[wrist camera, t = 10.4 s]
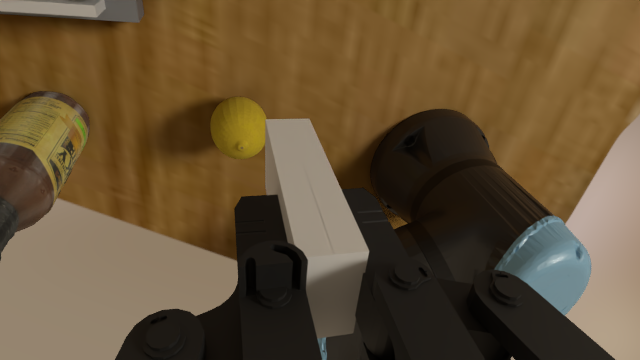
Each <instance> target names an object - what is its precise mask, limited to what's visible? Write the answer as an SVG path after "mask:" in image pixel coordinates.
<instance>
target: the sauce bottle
mask: <svg viewBox="0 0 640 360" xmlns="http://www.w3.org/2000/svg"><path fill="white" fill-rule="evenodd" d="M88 135H89V117H88V115H87V113H86V112H85V110H84V109H83V108H82V107H81V106H80V105H79V104H78V103H77V102H75V101H74V100H73V99H72V98H70V97H69V96H67V95H64V94H61V93H56V92H46V91H44V92H43V91H39V92H34V93H32V94H30V95H29V96H27V97H26V98H24V99H23V100H22V101H20V102H18V103H17V104H16V105H15V106H14V107H12V108H11V109H10V110H9V111H8V112H7V113H6V114H5V115H4V116H3V117H2V118H1V119H0V260H1V252H2V251H3V249H4V247H5V246H6V245H7V243H8V241H9V240H10V239H11V238H12V237H13V236H14V233H15V232H17V231H20V230H23V229H25V228H28V227H30V226H32V225H34V224H35V223H36V222H38V221H39V220H40V219H41V218H42V217H43V216H44V215H46V214H47V213H48V212H49V211H50V210H51V208H52V206H53V204H54V202H55V200H56V199H57V197H58V195H59V193H60V191H61V189H62V187H63V186H64V184H65V182H66V180H67V178H68V176H69V175H70V173H71V170H72V168H73V166H74V165H75V163H76V161H77V159H78V157H79V155H80V153H81V152H82V150H83V148H84V146H85V144H86V142H87V138H88Z"/></svg>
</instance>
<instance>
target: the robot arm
mask: <svg viewBox="0 0 640 360" xmlns="http://www.w3.org/2000/svg"><path fill="white" fill-rule="evenodd" d="M371 182H372V186H373V188H374V190H375V192H376V194H377V196H378V197H379V199H380V201H381V202H382V203H383V205H384V206H385V207H386V208H387V209H389V210H390V211H391V212H393V213H394V214H396V215H398V216H399V217H400V218H401V219H403V220H404V221H405V222H407V223H408V224H406V225H403V226H401V227H398V228H396V229H393V227H392V226H391V224H390V222H388V219H387V217H386V215H385V213H384V212H382V208H381V206H380V204H379V203H378V201H377V199H376V198H375V197H374V196H373V195H372V194H370V193H369V192H368V191H367V190H365V189H364V188H355V189H341V188H340V186H339V183H338V181H337V179H336V177H335V174H334V172H333V170H332V168H331V166H330V163H329V161H328V159H327V157H326V155H325V152H324V150H323V148H322V146H321V144H320V141H319V139H318V137H317V135H316V133H315V130H314V128H313V126H312V124H311V122H310V119H266V120H265V187H266V193H267V195H261V196H245V197H241V199H240V200H239V202H238V204H237V205H236V207H235V227H236V245H237V263H238V284H237V286H236V289H235V291H234V293H233V294H232V295H231V296H230V298H229V299H228V300H226V301H225V302H224V303H223V304H222V305H220V306H218V307H216V308H214V309H212V310H210V311H208V312H205V313H203V314H200V315H198V316H194V315H193V314H192V313H190V312H188V311H183V310H180V309H169V310H161V311H159V312H156V313H154V314H151V315H149V316H147V317H146V318H144V319H143V320H142V321H140V322H139V323H138V324H136V325H135V326H134V327H133V329H132V330H131V332H130V333H129V334H128V336H127V337H126V339H125V341H124V343H123V345H122V347H121V349H120V351H119V353H118V355H117V357H116V359H115V360H511V357H512V356H513V358H514V359H515V360H615V359H614V358H613V357H612V356H610V355H609V354H608V353H607V352H606V351H605V350H604V349H603V348H601V347H600V346H599V345H598V344H597V343H596V342H594V341H593V340H592V339H591V338H590V337H589V336H587V335H586V334H585V333H584V332H583V331H581V329H579V328H578V327H577V326H576V325H575V324H574V323H572V322H571V321H570V320H569V319H568V318H567V317H565V315H566V314H567V313H568V312H569V311H570V309H571V308H572V307H573V306H574V305H575V303H576V302H577V301H578V300H579V298H580V297H581V295H582V294H583V292H584V290H585V288H586V286H587V284H588V281H589V277H590V274H591V260H590V256H589V254H588V252H587V250H586V248H585V247H584V246H583V244H581V242H580V241H579V240H578V239H577V238H576V237H575V236H574V235H573V234H572V232H571V231H570V230H569V229H568V228H567V227H566V226H565V224H564V222H563V221H562V220H561V219H560V218H559V217H556V216H554V215H553V214H552V213H551V212H550V211H549V210H547V209H546V208H545V207H544V206H543V205H542V204H541V203H540V202H539V201H537V200H536V199H535V198H534V197H533V196H532V195H531V194H530V193H528V192H527V191H526V190H525V189H524V188H523V187H522V186H521V185H520V184H518V183H517V182H516V181H515V180H514V179H513V178H512V177H511V176H509V175H508V174H507V173H506V172H505V171H504V170H503V169H502V168H501V167H500V166H498V165H497V162H496V160H495V158H494V156H493V154H492V153H491V151H490V150H489V145H488V141H487V139H486V137H485V135H484V133H483V132H482V130H481V129H480V128H479V127H478V126H477V125H476V124H475V123H474V122H473V121H471V120H470V119H469V118H468V117H467V116H465V115H464V114H462V113H459V112H457V111H454V110H448V109H435V110H429V111H425V112H422V113H419V114H416V115H414V116H412V117H410V118H408V119H406V120H405V121H403V122H402V123H400V124H399V125H398V126H396V127H395V128H394V129H393V130H392V131H391V132H390V133H389V134H388V135H387V136H386V137H385V138H384V140H383V141H382V142H381V144H380V145H379V147H378V149H377V151H376V153H375V155H374V157H373V160H372V164H371Z"/></svg>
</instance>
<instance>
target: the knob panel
mask: <svg viewBox="0 0 640 360" xmlns="http://www.w3.org/2000/svg"><path fill="white" fill-rule="evenodd" d="M0 14H11V15H27V16H43V17H59V18H75V19H91V20H107V21H123V22H140V20H141V18H142V17H143V15H144V9H143V2H142V0H0Z"/></svg>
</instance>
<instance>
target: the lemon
mask: <svg viewBox="0 0 640 360" xmlns="http://www.w3.org/2000/svg"><path fill="white" fill-rule="evenodd" d="M266 119H267V118H266V115H265V113H264V112H263V110H262V109H261V107H260V106H259V105H258V104H257V103H255V102H254V101H252V100H250V99H248V98H245V97H231V98H228V99H226V100H224V101H222V102H221V103H220V104H219V105H218V106H217V107H216V109H215V110H214V112H213V114H212V117H211V121H210V131H211V135H212V139H213V141H214V143H215V144H216V146H217V148H218V149H219V150H220V151H221V152H222V153H223V154H225V155H227V156H228V157H231V158H234V159H247V158H250V157H253V156H254V155H256V154H257V153H258V152H259V151H260V150H261V149H262V148H263V146H264V145H265V120H266Z"/></svg>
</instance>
